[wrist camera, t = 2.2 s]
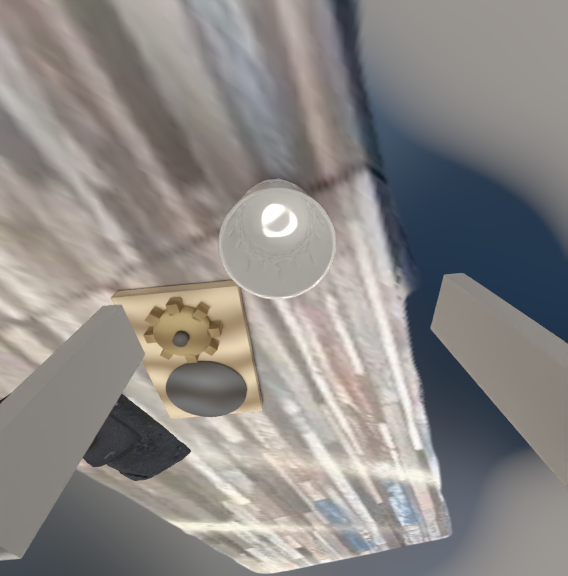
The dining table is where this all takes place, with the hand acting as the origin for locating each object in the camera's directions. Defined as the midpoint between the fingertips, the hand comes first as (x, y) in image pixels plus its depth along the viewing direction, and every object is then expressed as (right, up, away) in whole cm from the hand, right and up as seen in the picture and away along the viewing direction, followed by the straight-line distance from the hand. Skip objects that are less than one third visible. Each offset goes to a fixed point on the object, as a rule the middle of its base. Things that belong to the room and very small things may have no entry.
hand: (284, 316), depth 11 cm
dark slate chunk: (-27, -23, +33) cm, 49 cm away
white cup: (-1, +9, +15) cm, 18 cm away
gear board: (-11, -8, +24) cm, 28 cm away
